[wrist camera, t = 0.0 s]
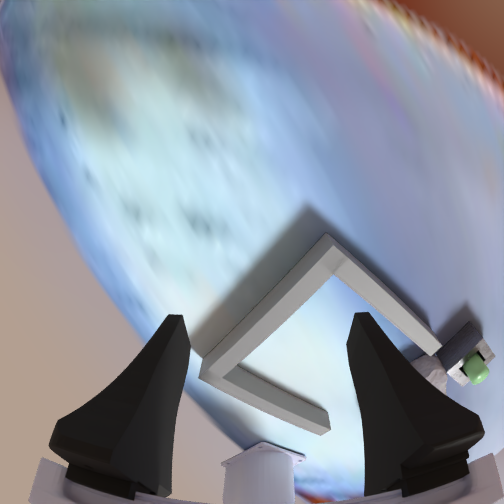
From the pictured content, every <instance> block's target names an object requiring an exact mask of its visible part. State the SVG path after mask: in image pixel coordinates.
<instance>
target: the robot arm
mask: <svg viewBox="0 0 504 504" xmlns="http://www.w3.org/2000/svg"><path fill="white" fill-rule="evenodd" d="M346 345H347V353H348V360H349V367H350V371H351V375H352V379H353V383H354V386H355V390H356V394H357V399H358V403H359V407H360V412H361V418H362V427H363V438H364V455H365V487H364V497H361V498H356V499H349V500H343V501H336V502H328V503H318V504H494V503H496V502H498V501H499V500H501V499H503V498H504V494H503V489H502V485H501V481H500V477H499V473H498V470H497V466H496V463H495V459H494V455H493V453H490V454H488V455H486V456H483V457H481V458H479V459H477V460H475V461H472V462H471V463H469V464H467V460H466V459H467V458H469V453H468V450H469V449H470V448H471V447H472V446H474V445H475V444H476V443H477V442H478V441H480V440H481V439H482V438H483V436H484V434H485V431H484V428H483V425H482V422H481V420H480V418H479V415H477V414H476V413H474V412H472V411H470V410H468V409H467V408H465V407H463V406H461V405H460V404H458V403H457V402H455V401H454V400H452V399H451V398H449V397H448V396H446V395H445V394H444V393H442V392H441V391H440V390H439V389H437V388H436V387H435V386H434V385H432V384H431V383H430V382H429V381H428V380H427V379H425V378H424V377H423V376H422V375H421V374H420V373H419V372H418V371H417V370H416V369H415V368H414V367H413V366H412V365H411V364H410V363H409V362H408V360H407V359H406V358H405V357H404V356H403V355H402V354H401V353H400V351H399V350H398V349H397V348H396V347H395V345H394V344H393V343H392V342H391V340H390V339H389V338H388V337H387V335H386V334H385V333H384V332H383V330H382V329H381V328H380V326H379V325H378V324H377V322H376V321H375V320H374V318H373V317H372V316H371V314H370V313H369V312H359V313H355V314H354V318H353V322H352V326H351V329H350V333H349V337H348V340H347V344H346ZM190 348H191V345H190V341H189V338H188V334H187V330H186V326H185V323H184V319H183V315H173V314H169V315H168V316H167V317H166V318H165V320H164V321H163V322H162V324H161V325H160V327H159V328H158V329H157V331H156V332H155V333H154V335H153V336H152V338H151V339H150V340H149V341H148V343H147V344H146V345H145V347H144V348H143V349H142V350H141V352H140V353H139V354H138V355H137V356H136V358H135V359H134V360H133V361H132V362H131V363H130V364H129V366H128V367H127V368H126V369H125V370H124V371H123V372H122V373H121V374H120V375H119V376H118V377H117V378H116V379H115V380H114V381H113V382H112V383H111V384H110V385H108V386H107V387H106V388H105V389H104V390H103V391H101V392H100V393H99V394H98V395H96V396H95V397H94V398H92V399H91V400H90V401H88V402H87V403H86V404H84V405H83V406H81V407H80V408H78V409H77V410H75V411H73V412H72V413H70V414H69V415H67V416H65V417H63V418H61V419H59V420H58V421H57V423H56V425H55V428H54V431H53V433H52V436H51V439H50V442H49V447H50V449H51V450H52V451H53V452H55V453H56V454H57V455H59V456H60V457H61V458H63V459H64V460H66V461H67V462H68V463H69V466H68V468H66V467H64V466H62V465H60V464H57V463H55V462H53V461H50V460H48V459H45V458H41V460H40V463H39V466H38V469H37V473H36V476H35V479H34V483H33V486H32V490H31V493H30V497H29V502H30V503H31V504H207V503H199V502H191V501H183V500H177V499H170V498H165V497H167V496H169V495H170V494H171V493H172V489H171V487H172V483H171V482H172V456H173V455H172V454H173V443H174V432H175V424H176V416H177V411H178V406H179V402H180V398H181V394H182V390H183V386H184V382H185V378H186V374H187V370H188V365H189V357H190ZM305 460H306V456H303V455H300V454H297V453H294V452H291V451H288V450H285V449H282V448H280V447H277V446H274V445H271V444H269V443H266V442H260V443H259V444H257V445H255V446H253V447H251V448H249V449H247V450H246V451H244V452H242V453H240V454H238V455H236V456H234V457H232V458H230V459H228V460H226V461H224V462H222V463H221V466H223V467H226V472H225V481H224V482H225V483H224V492H223V504H295V495H294V473H293V466H294V465H297V464H299V463H301V462H303V461H305Z"/></svg>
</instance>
